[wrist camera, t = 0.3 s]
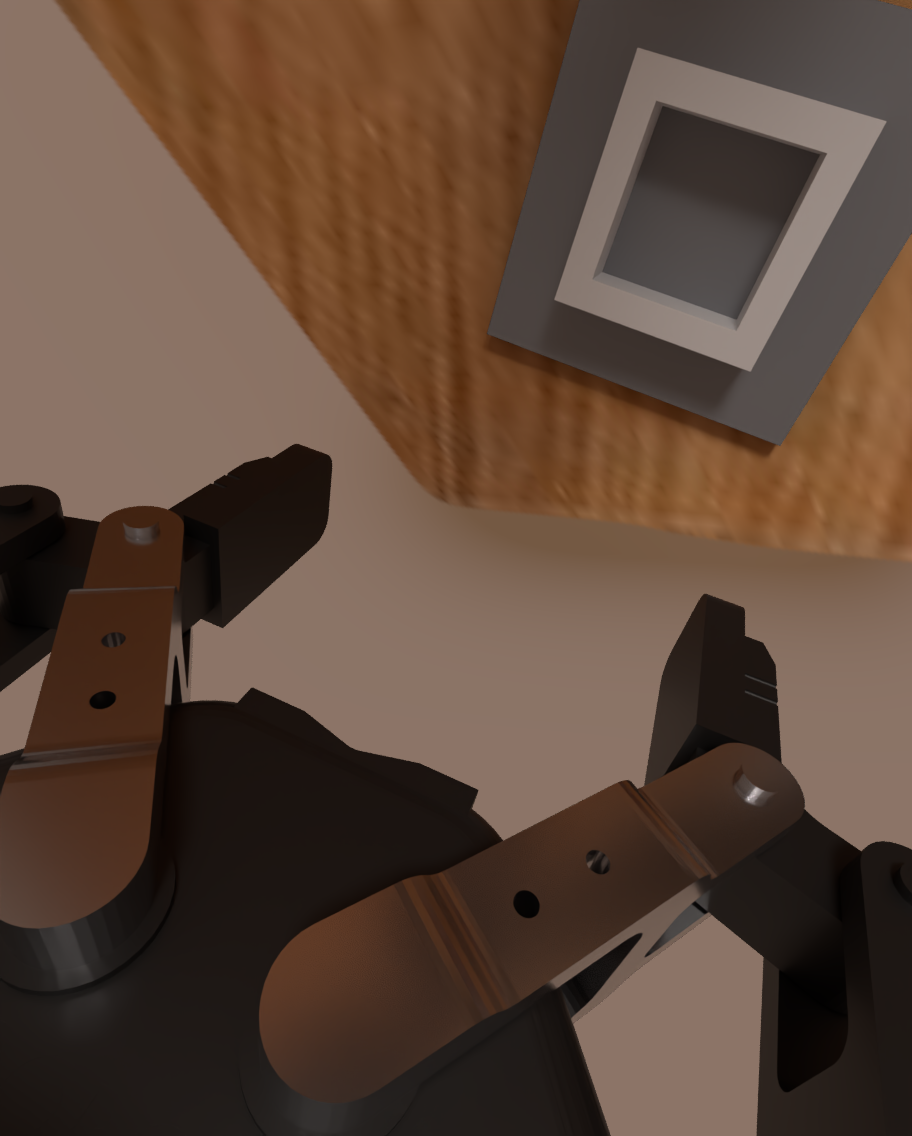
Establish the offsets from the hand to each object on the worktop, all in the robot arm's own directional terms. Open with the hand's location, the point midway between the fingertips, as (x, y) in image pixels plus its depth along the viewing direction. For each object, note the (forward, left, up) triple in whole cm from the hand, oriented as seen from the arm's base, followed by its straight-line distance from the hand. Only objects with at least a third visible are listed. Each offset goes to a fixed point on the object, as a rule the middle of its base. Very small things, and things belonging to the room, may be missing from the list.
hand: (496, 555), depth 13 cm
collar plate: (-5, +1, -28) cm, 29 cm away
